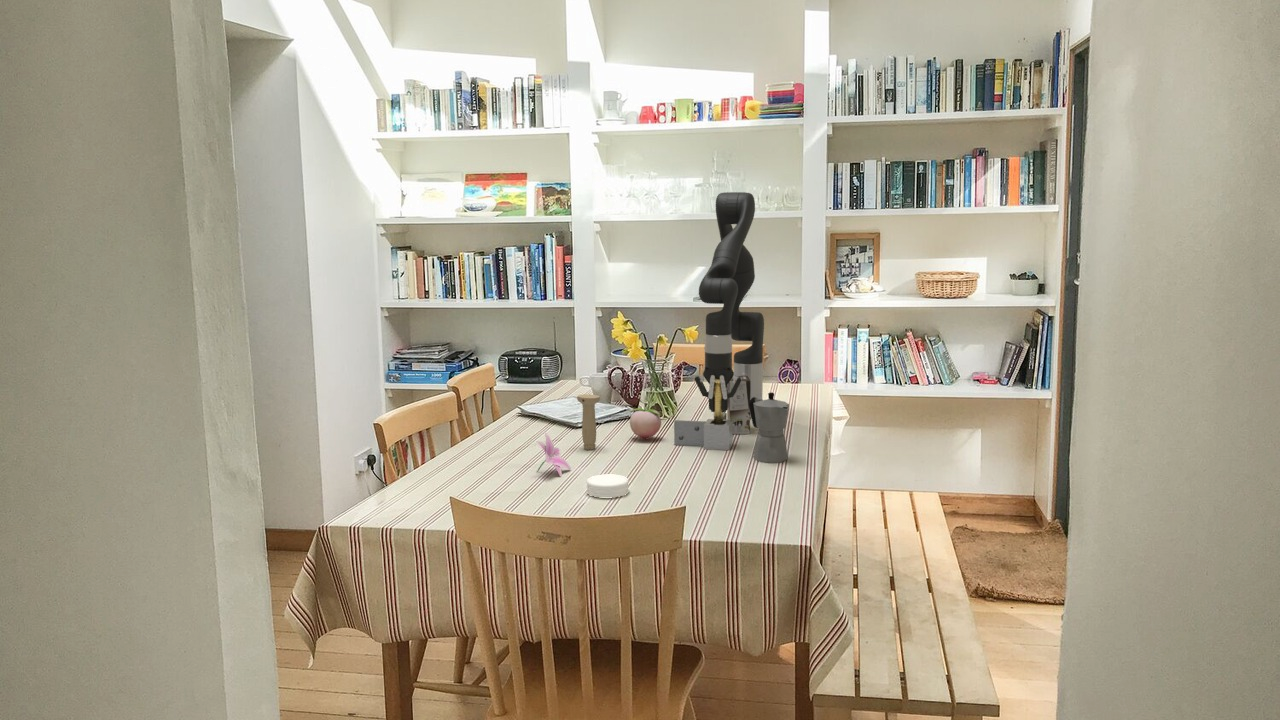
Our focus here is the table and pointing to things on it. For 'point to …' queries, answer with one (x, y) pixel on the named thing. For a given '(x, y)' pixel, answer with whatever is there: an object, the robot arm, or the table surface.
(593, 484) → the white round disc
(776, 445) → the coffeepot
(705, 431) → the grey corner bracket
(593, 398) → the handle
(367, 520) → the table surface
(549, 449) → the lily
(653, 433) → the decorative fruit
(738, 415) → the coffee box
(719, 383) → the hinge pin
